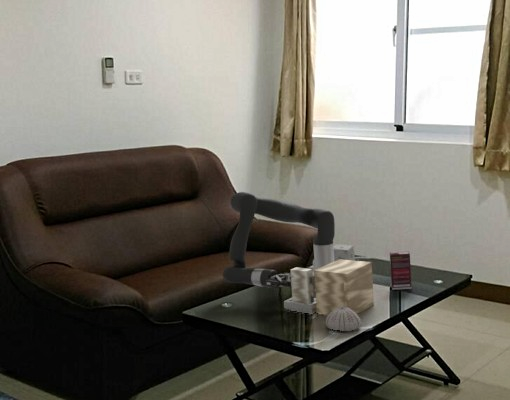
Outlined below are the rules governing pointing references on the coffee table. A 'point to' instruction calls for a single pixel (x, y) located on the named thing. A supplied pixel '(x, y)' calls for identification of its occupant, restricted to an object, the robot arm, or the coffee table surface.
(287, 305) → the grey rectangular tray
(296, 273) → the beige upright rectangular block
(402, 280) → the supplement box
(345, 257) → the incense holder
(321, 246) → the robot arm
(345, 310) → the sea urchin shell
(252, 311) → the coffee table surface
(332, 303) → the patterned beige box
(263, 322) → the coffee table surface
